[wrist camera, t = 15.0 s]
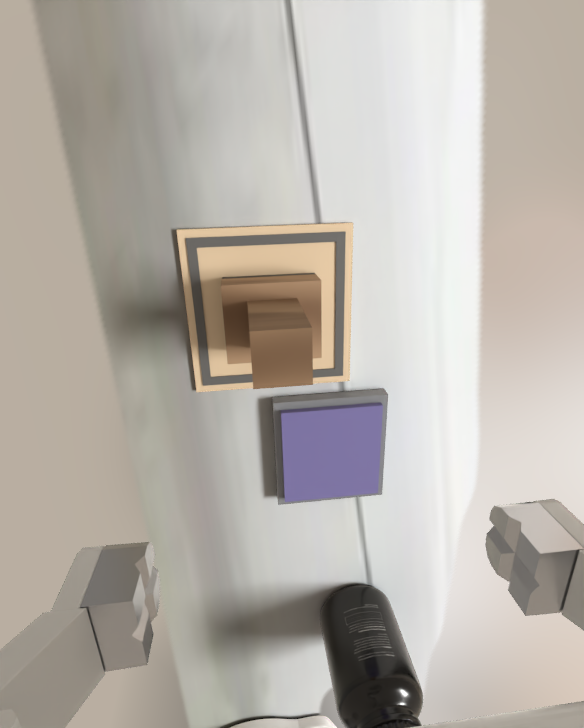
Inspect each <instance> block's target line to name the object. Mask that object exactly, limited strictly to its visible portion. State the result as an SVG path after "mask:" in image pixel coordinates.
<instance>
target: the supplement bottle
mask: <svg viewBox="0 0 584 728" xmlns="http://www.w3.org/2000/svg"><path fill="white" fill-rule="evenodd" d="M320 623H321V629H322V635H323V640H324V645H325V650H326V655H327V660H328V666H329V671H330V676H331V681H332V686H333V691H334V697H335V702H336V706H337V711H338V715H339V718H340V720H341V722H342V724H343V725H344V726H345V728H410V727H416V726H422V725H421V723H420V721H419V719H418V716H419V714H420V712H421V709H422V705H423V693H422V689H421V686H420V683H419V680H418V678H417V675H416V672H415V670H414V667H413V664H412V661H411V659H410V656H409V653H408V650H407V648H406V645H405V642H404V640H403V637H402V634H401V631H400V629H399V626H398V623H397V621H396V618H395V615H394V612H393V610H392V607H391V605H390V602H389V600H388V598H387V597H386V596H385V594H384V593H383V592H381V591H380V590H378V589H376V588H374V587H371V586H366V585H355V586H349V587H346V588H343V589H341V590H339V591H337V592H336V593H334V594H333V595H331V596H330V597H329V598H328V599H327V601H326V602H325V603H324V605H323V607H322V609H321V613H320Z"/></svg>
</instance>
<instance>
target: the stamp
mask: <svg viewBox="0 0 584 728" xmlns="http://www.w3.org/2000/svg"><path fill="white" fill-rule="evenodd" d="M220 286H221V297H222V308H223V319H224V330H225V341H226V352H227V363H228V364H241V363H252V377H253V389H260V388H274V387H287V386H301V385H313V359H314V358H322V322H321V279H320V278H319V277H318V276H317V275H316V274H315V273H296V274H276V275H256V276H236V277H222V280H221V285H220Z"/></svg>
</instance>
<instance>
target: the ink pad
mask: <svg viewBox="0 0 584 728" xmlns="http://www.w3.org/2000/svg"><path fill="white" fill-rule="evenodd" d="M272 402H273V422H274V441H275V461H276V480H277V498H278V505H280V504H291V503H301V502H311V501H321V500H331V499H341V498H351V497H361V496H371V495H381V494H382V484H383V468H384V452H385V436H386V419H387V403H388V394H387V392H386V391H385V390H384V389H372V390H359V391H346V392H333V393H320V394H307V395H293V396H280V397H272Z"/></svg>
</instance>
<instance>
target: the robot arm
mask: <svg viewBox="0 0 584 728" xmlns="http://www.w3.org/2000/svg"><path fill="white" fill-rule="evenodd" d="M490 521H491V522H492V523H493V525H494V526H493V528H492V529H491V530H490V531H489V532H488V533H487V537H486V550H487V555H488V558H489V561H490V563H491V565H492V567H493V568H494V570H495V571H496V573H497V575H499V576H501V577H502V578H504V579H506V580H507V581H509V588H508V591H509V592H510V594H511V595H512V597H513V598H514V600H515V601H516V603H517V604H518V606H519V607H520V608H521V610H522V611H523V613H524V614H525V616H528V615H539V614H549V613H560V612H562V615H563V616H565V617H566V618H567V619H569V620H570V621H571V622H573V623H574V624H576V625H577V626H578V627H580V628H581V629H583V630H584V524H583V523H581V521H579V520H578V519H577V518H576V517H575V516H574V515H573V514H572V513H571V512H570V511H569V510H568V509H567V508H566V507H565V506H564V505H563V504H562V503H561V502H559V501H557V500H555V499H549V500H540V501H534V502H525V503H516V504H509V505H499V506H494V507H493V509H492V510H491V514H490ZM154 558H155V552H154V548H153V544H152V543H151V542H143V543H131V544H118V545H106V546H100V547H87V548H82V549H81V550H80V551H79V552H78V553H77V555H76V557H75V559H74V562H73V564H72V566H71V568H70V570H69V573H68V575H67V577H66V579H65V581H64V584H63V586H62V588H61V590H60V592H59V594H58V597H57V599H56V601H55V603H54V606H53V608H52V610H51V612H47V613H42V615H40V616H39V617H38V618H37V619H35V620H34V621H33V622H32V623H31V624H30V625H29V626H27V627H26V628H25V629H24V630H23V631H22V632H20V634H18V635H17V636H16V637H15V638H14V639H12V640H11V641H10V642H9V643H8V644H6V645H5V646H4V647H3V648H2V649H1V650H0V728H65V727H66V726H67V724H68V723H69V722H70V720H71V719H72V718H73V716H74V715H75V714H76V712H77V711H78V710H79V708H80V707H81V706H82V704H83V703H84V702H85V700H86V699H87V698H88V696H89V695H90V694H91V692H92V691H93V690H94V688H95V687H96V686H97V684H98V683H99V682H100V680H101V679H102V678H103V676H104V675H105V671H112V670H118V669H125V668H131V667H137V666H143V665H147V663H148V658H149V653H150V648H151V643H152V639H153V631H152V626H151V622H152V620H153V619H154V618H155V617H156V616H157V612H158V607H159V599H160V579H159V573H158V570H157V569H156V568H155V567H154V566H153V562H154ZM230 728H337V727H336V726H335V725H334V724H333V723H332V722H331V720H330V719H329V718H328V717H326V716H321V715H319V716H311V717H306V718H301V719H260V720H253V721H249V722H245V723H241V724H238V725H235V726H232V727H230ZM410 728H584V701H581V702H575V703H568V704H561V705H555V706H548V707H542V708H535V709H528V710H522V711H515V712H509V713H502V714H495V715H489V716H482V717H475V718H469V719H462V720H456V721H449V722H443V723H436V724H429V725H423V726H416V727H410Z"/></svg>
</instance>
